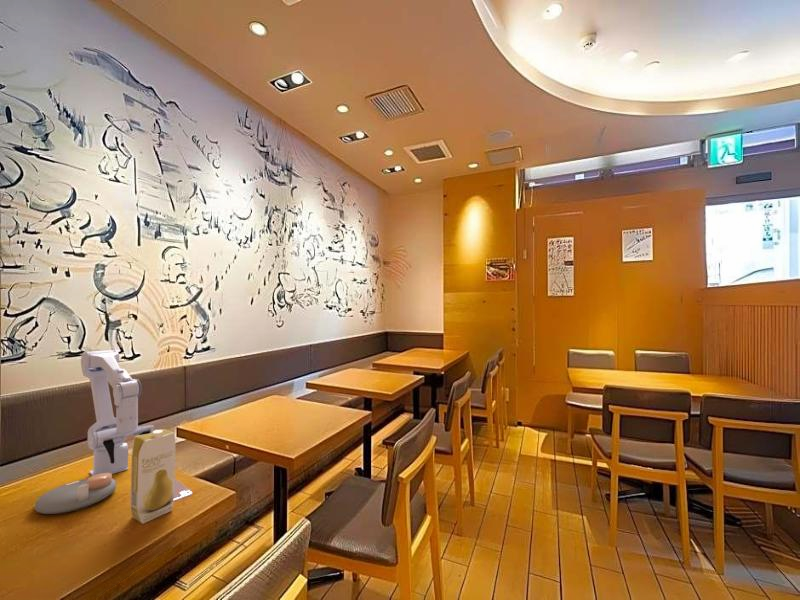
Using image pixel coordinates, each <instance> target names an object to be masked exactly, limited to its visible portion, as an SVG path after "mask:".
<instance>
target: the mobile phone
mask: <svg viewBox="0 0 800 600" xmlns="http://www.w3.org/2000/svg"><path fill="white" fill-rule="evenodd" d="M192 495H193V491H192V490H191V489H190V488H188V487H187V486H186V485H185V484H183V483H182V482H181V481H180V480H179V479H178V478H175V483H174V501H173V503H174V502H177V501H180V500H182V499H184V498H187V497H189V496H192Z"/></svg>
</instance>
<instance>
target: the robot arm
mask: <svg viewBox="0 0 800 600" xmlns="http://www.w3.org/2000/svg"><path fill="white" fill-rule="evenodd" d="M80 357H81V358H80V366H81V367H80V368H81V372H82V376H83V377H85V378H88V381H89V383H90V388H91V393H92V401H93V405H94V406H93V407H94V408H93V409H94V413H95V420H96V422H95V423H94V424H92V425H91V426H90V427H89V428H88V431H87V447H88V448H89V449H90V450H91V451H93V461H92V462H93V463H92V464H93V465H92V470H89V474H90V476H94V475H97V474H101V473H111V474H112V475H114V474H117V473H121V472H124V471H127V470H129V445H128V443H127V442H125V441H126V439H127V438H128V437H132V436H140V435H145V434H150V433H152V432H153V431H155V426H154V425H153V424H149V425H143V426H142V425H141V426H139V397H140V396H141V394H142V388H143V387H142V383H141V381H140V380H139V379H137V378H132V376H131V375H130V374H129V372H128V371H127V370H126V369H125V368H121V367H120V365H119V362H120V354H119V351H118V350H117V349H109V350H108V349H107V350H96V351H84V352H83V353H82V355H81V356H80ZM109 385H110V386H111V388H112V395H113V398H114V399H113V400H114V402H113V403H114V405H115V406H116V409H115V410H116V411H115V412H116V413H115V416H116V417H115V416H114V410H113V404H112V399H111V394H110V393H111V391H110V387H109Z"/></svg>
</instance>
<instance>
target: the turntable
mask: <svg viewBox="0 0 800 600" xmlns="http://www.w3.org/2000/svg"><path fill="white" fill-rule="evenodd" d="M87 479H88V478H83V479H80V480H75V481H72V482H69V483H65V484H63V485H61V486H57V487H54V488H53V489H51V490H49V491H46V492H45V493H43V494H42V495H41V496H39V497H38V498H37V499H36V500H35V504H34V510H35V511H36V512H37V513H39V514H42V515H45V514H46V515H53V514H54V515H55V514H56V513H59V514H64V513H63V512H67V513H69V512H68V511H71V512H73V511H72V510H75V511H77V510H76V509H79V510H81V509H80V508H82V509H84V508H83V507H85V508H87V507H86V506H88V507H90V506H92V505H94V503H95V504H97V503H99V502H100V501H102V500H104V499H106V498H107V497H108V496H110V495H111V494H112V493H113V492H115V490H116V488H117V480H115V479H114V478H112V482H111V484H110V485H108V486H106V487H104V488H101V489H97V490H89V484H87ZM91 504H92V505H91ZM89 505H90V506H89Z"/></svg>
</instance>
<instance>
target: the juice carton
mask: <svg viewBox="0 0 800 600" xmlns="http://www.w3.org/2000/svg"><path fill="white" fill-rule="evenodd" d="M175 435H176V434H175V432H174V431H171V430H167V429H165V428H162V429H154V431H153V432H150V434H145V435H140V436H139V435H134V438H133V443H132V447H131V448H132V449H131V470H130V471H131V473H130V476H131V477H130V513H131V516H132V518H133V519H134V520H137V522H139V523H141V524H143V525H144V524H145V523H148V522H150V521H153V520H155V519H157V518H158V517H161V516H163V515H165V514H168V513H169V512H171V511H172V510H173V507H174V502H175V501H174V483H175V479H176V475H175V474H176V471H175V470H176V436H175ZM173 501H174V502H173Z"/></svg>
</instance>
